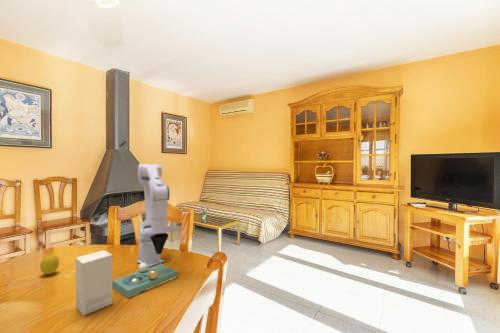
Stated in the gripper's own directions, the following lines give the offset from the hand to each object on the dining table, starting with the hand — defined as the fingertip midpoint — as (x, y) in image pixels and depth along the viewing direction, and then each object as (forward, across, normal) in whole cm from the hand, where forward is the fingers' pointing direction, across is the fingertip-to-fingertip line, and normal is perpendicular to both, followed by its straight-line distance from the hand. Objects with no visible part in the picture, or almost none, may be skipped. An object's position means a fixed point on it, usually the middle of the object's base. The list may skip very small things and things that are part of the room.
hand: (158, 253), depth 94 cm
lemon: (+10, -25, +34) cm, 43 cm away
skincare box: (+10, -23, -2) cm, 25 cm away
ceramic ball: (+5, -4, +4) cm, 8 cm away
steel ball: (+8, -9, 0) cm, 12 cm away
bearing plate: (+9, -5, 0) cm, 11 cm away
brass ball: (+5, -5, -4) cm, 8 cm away
